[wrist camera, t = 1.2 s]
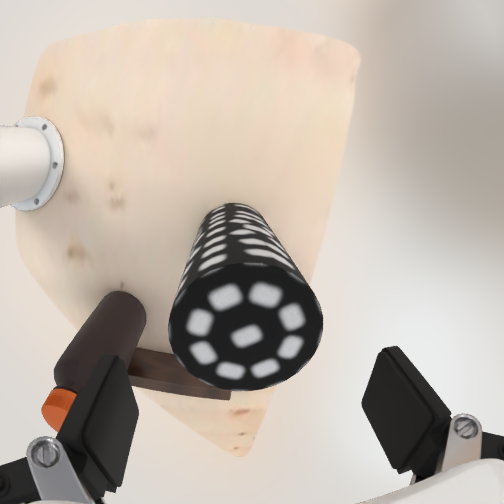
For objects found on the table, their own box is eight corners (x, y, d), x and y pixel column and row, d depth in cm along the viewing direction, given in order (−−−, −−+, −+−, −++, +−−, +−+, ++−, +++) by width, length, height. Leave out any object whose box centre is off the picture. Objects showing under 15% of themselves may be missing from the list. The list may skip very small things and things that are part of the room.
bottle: (137, 341, 37) (95, 456, 18) (95, 318, 35) (31, 421, 16) (154, 306, 35) (109, 426, 16) (110, 281, 34) (32, 382, 15)
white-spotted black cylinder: (217, 282, 35) (213, 406, 16) (185, 221, 33) (138, 302, 14) (279, 254, 35) (338, 357, 16) (252, 191, 32) (292, 233, 13)
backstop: (134, 357, 38) (124, 384, 32) (134, 347, 37) (123, 373, 31) (228, 372, 40) (229, 400, 34) (230, 362, 39) (231, 390, 33)
